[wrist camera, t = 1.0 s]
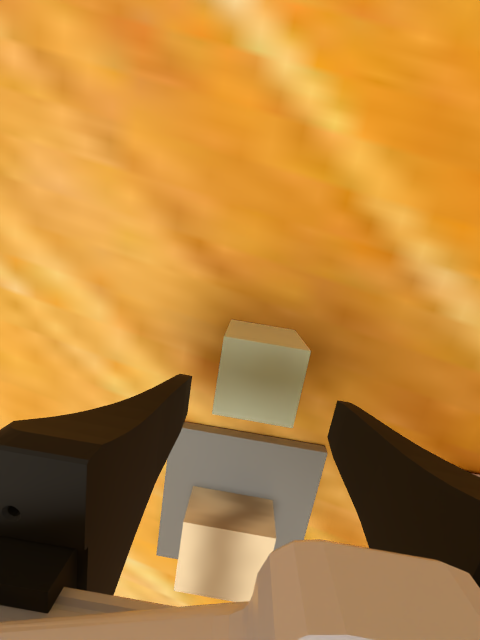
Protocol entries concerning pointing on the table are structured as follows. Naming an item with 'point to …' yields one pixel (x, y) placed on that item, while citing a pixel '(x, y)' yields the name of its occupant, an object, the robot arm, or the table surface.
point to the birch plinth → (224, 544)
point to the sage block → (261, 373)
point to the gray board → (240, 478)
